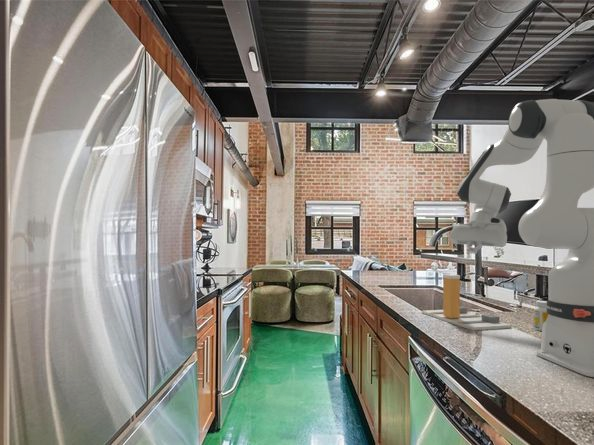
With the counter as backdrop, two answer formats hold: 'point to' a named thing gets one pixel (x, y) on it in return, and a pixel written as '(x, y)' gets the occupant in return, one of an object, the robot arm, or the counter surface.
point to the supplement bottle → (540, 315)
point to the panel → (470, 320)
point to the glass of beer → (451, 295)
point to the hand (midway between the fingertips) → (471, 252)
